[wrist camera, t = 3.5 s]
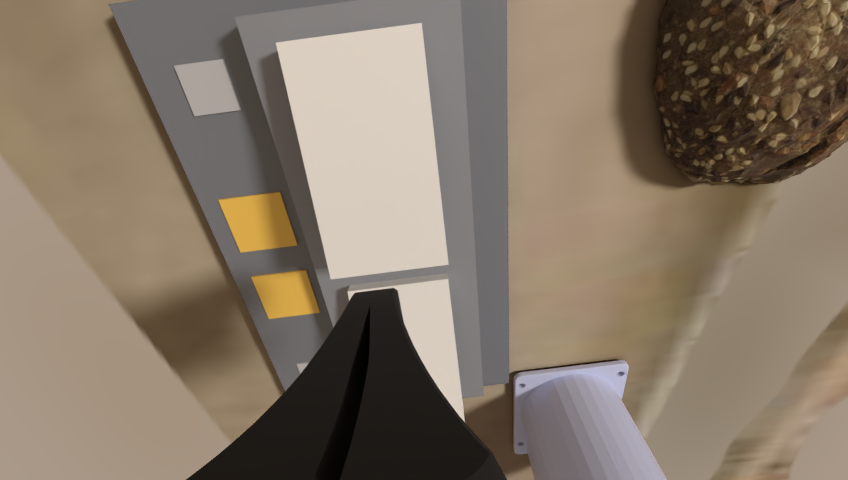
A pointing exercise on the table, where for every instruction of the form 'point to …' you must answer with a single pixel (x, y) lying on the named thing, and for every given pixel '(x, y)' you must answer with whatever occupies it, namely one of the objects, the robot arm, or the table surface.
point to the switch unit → (284, 168)
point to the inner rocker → (428, 328)
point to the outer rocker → (368, 148)
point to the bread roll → (752, 86)
